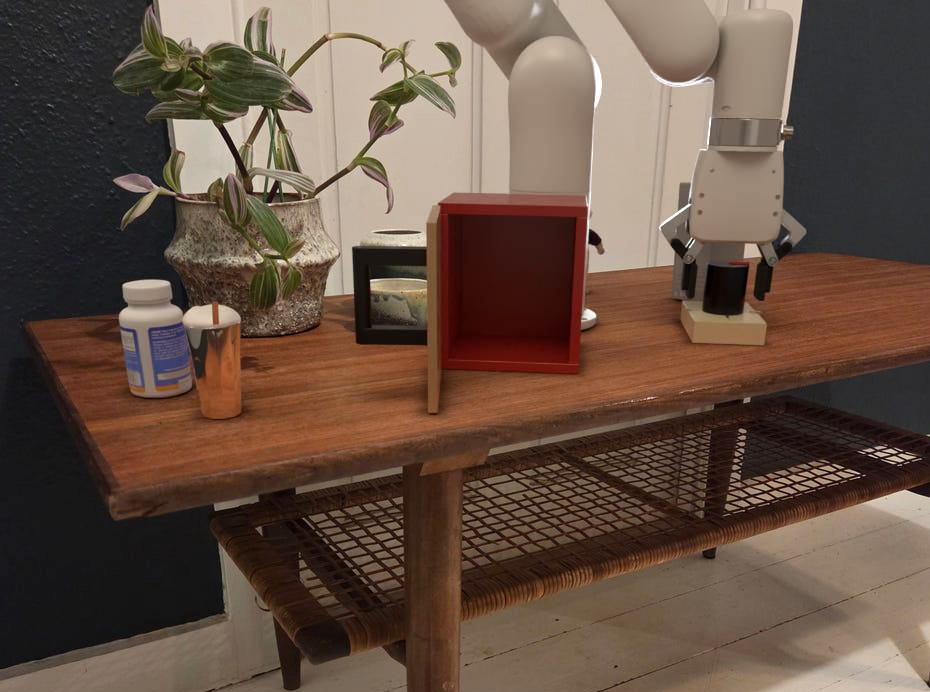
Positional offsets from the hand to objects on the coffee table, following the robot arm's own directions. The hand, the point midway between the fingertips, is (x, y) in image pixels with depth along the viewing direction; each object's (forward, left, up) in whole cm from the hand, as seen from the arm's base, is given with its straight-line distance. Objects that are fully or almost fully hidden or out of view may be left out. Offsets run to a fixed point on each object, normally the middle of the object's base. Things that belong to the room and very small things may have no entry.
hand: (724, 296), depth 104 cm
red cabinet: (+15, -24, -4) cm, 29 cm away
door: (+29, -33, -4) cm, 44 cm away
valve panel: (0, 0, -4) cm, 4 cm away
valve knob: (0, 0, -2) cm, 2 cm away
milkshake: (+38, -47, -4) cm, 61 cm away
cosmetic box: (-21, +1, -4) cm, 21 cm away
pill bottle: (+32, -55, -4) cm, 64 cm away
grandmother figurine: (-23, -17, -4) cm, 29 cm away
